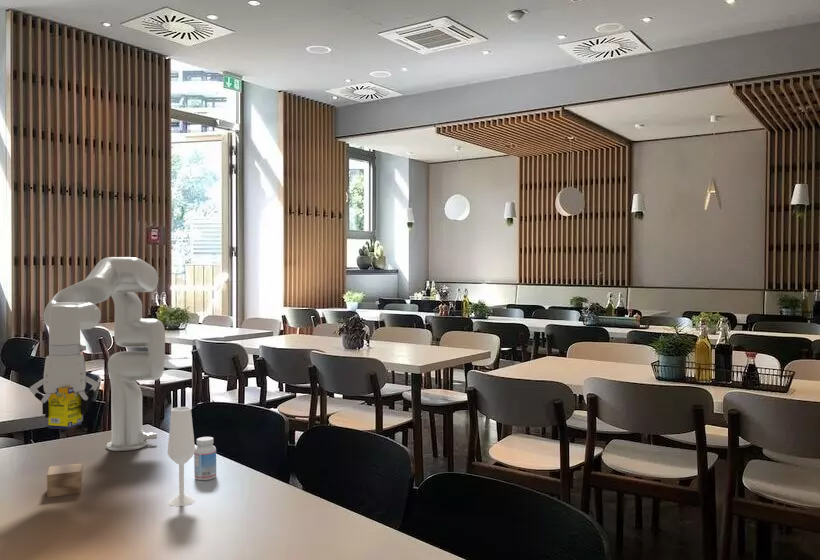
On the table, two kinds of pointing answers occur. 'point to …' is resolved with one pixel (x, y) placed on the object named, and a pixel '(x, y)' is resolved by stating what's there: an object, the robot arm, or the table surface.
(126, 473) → the table surface
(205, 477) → the pill bottle
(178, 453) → the champagne flute
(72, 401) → the supplement box
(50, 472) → the tan wooden block
